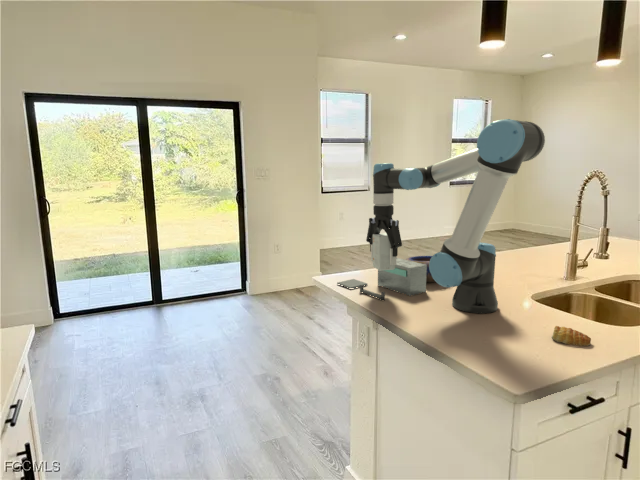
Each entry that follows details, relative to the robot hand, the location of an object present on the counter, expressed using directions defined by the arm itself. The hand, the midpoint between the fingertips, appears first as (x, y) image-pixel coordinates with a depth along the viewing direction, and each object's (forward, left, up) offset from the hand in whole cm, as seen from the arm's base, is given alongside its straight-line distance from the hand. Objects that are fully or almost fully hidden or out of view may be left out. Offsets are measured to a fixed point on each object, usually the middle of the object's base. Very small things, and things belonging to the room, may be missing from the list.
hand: (383, 262), depth 163 cm
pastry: (-64, -11, -13) cm, 66 cm away
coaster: (+16, +2, -13) cm, 21 cm away
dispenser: (0, -4, -13) cm, 13 cm away
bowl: (+3, -29, -13) cm, 32 cm away
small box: (0, 0, -2) cm, 2 cm away
